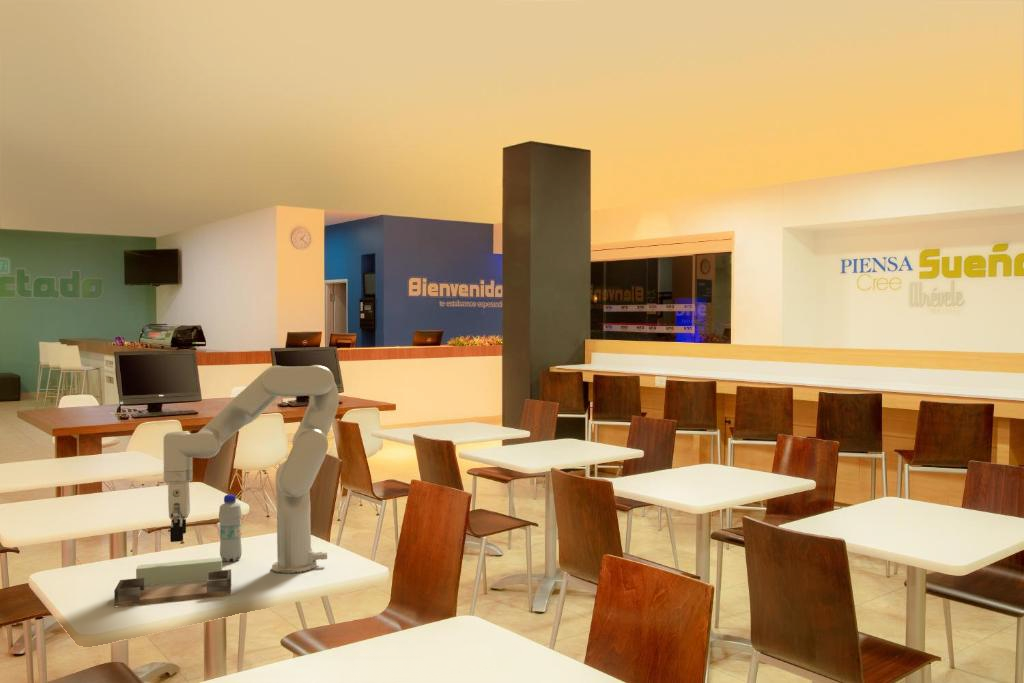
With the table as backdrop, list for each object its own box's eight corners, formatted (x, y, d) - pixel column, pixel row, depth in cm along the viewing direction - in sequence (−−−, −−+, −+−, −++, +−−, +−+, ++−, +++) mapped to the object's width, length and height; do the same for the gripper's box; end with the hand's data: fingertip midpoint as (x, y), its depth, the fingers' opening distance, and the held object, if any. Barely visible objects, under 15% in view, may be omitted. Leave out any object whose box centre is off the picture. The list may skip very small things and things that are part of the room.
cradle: (231, 584, 223) (231, 569, 223) (230, 595, 214) (230, 579, 214) (120, 595, 214) (120, 579, 214) (114, 607, 205) (114, 590, 205)
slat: (222, 574, 234) (221, 557, 234) (221, 578, 230) (221, 561, 230) (138, 583, 227) (138, 565, 227) (136, 587, 223) (136, 569, 223)
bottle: (238, 562, 245) (237, 496, 245) (215, 563, 245) (214, 496, 245) (245, 556, 252) (244, 492, 252) (224, 557, 252) (223, 492, 252)
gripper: (190, 480, 221) (190, 543, 221) (194, 471, 238) (194, 529, 238) (160, 482, 219) (160, 545, 219) (166, 472, 235) (167, 531, 235)
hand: (178, 537), depth 228 cm, fingers open, 9 cm apart
